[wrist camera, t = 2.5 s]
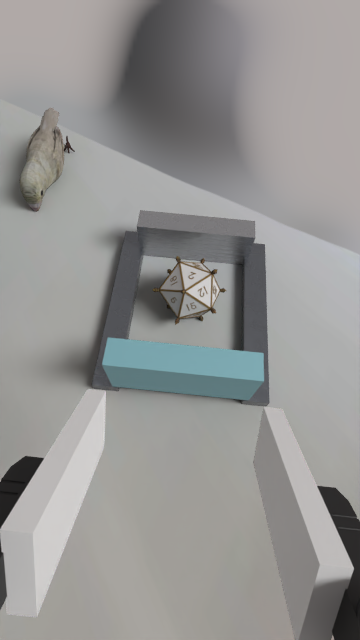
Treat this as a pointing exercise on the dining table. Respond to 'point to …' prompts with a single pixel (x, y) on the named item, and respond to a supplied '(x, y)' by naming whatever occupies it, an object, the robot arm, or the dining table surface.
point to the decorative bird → (43, 159)
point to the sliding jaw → (183, 368)
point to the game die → (190, 289)
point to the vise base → (194, 244)
